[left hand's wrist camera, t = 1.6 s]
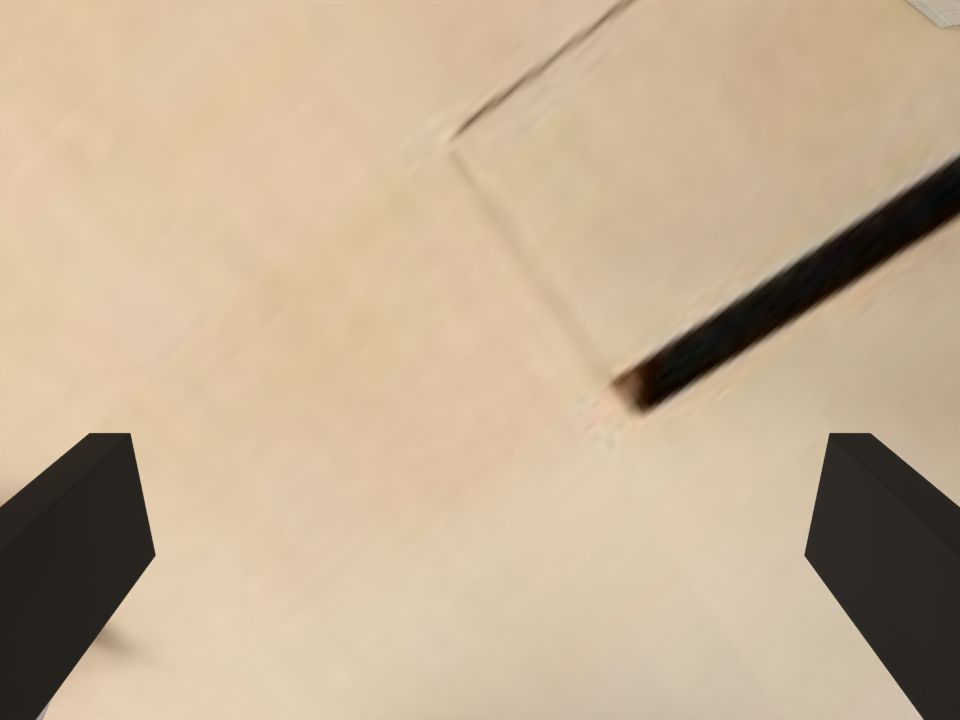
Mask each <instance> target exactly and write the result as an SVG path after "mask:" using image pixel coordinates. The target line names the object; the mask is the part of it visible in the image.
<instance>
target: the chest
mask: <svg viewBox="0 0 960 720" xmlns="http://www.w3.org/2000/svg"><path fill="white" fill-rule="evenodd" d="M907 1H908V2H909V3H911V4H912V5H913V6H914V7H915V8H917V9H918V10H919V11H920V12H921V13H923V14H924V15H925V16H926V17H927V18H928V19H930V20H931V21H932V22H933V23H934V24H936V25H937V26H938V27H939V28H944V27H950V26H953V25H960V0H907Z"/></svg>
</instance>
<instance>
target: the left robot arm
mask: <svg viewBox="0 0 960 720" xmlns="http://www.w3.org/2000/svg"><path fill="white" fill-rule="evenodd" d="M155 556H156V555H155V550H154V545H153V540H152V535H151V531H150V526H149V521H148V516H147V511H146V506H145V501H144V497H143V492H142V487H141V482H140V477H139V472H138V468H137V463H136V458H135V453H134V448H133V443H132V438H131V434H130V433H89V434H88V435H87V436H86V437H84V438H83V439H82V440H81V441H80V442H78V443H77V444H76V445H75V446H74V447H72V448H71V449H70V450H69V451H68V452H66V453H65V454H64V455H63V456H61V457H60V458H59V459H58V460H57V461H55V462H54V463H53V464H52V465H51V466H49V467H48V468H47V469H46V470H45V471H43V472H42V473H41V474H40V475H39V476H37V477H36V478H35V479H34V480H33V481H31V482H30V483H29V484H28V485H27V486H25V487H24V488H23V489H22V490H20V491H19V492H18V493H17V494H16V495H14V496H13V497H12V498H11V499H10V500H8V501H7V502H6V503H5V504H4V505H2V506H1V507H0V720H36V719H37V718H38V716H39V715H40V714H41V712H42V711H43V710H44V708H45V707H46V705H47V704H48V703H49V701H50V700H51V699H52V697H53V696H54V694H55V693H56V692H57V690H58V689H59V688H60V686H61V685H62V683H63V682H64V681H65V679H66V678H67V677H68V675H69V674H70V672H71V671H72V670H73V668H74V667H75V666H76V664H77V663H78V661H79V660H80V659H81V657H82V656H83V655H84V653H85V652H86V650H87V649H88V648H89V646H90V645H91V644H92V642H93V641H94V639H95V638H96V637H97V635H98V634H99V633H100V631H101V630H102V628H103V627H104V626H105V624H106V623H107V622H108V620H109V619H110V617H111V616H112V615H113V613H114V612H115V611H116V609H117V608H118V606H119V605H120V604H121V602H122V601H123V600H124V598H125V597H126V595H127V594H128V593H129V591H130V590H131V589H132V587H133V586H134V584H135V583H136V582H137V580H138V579H139V578H140V576H141V575H142V573H143V572H144V571H145V569H146V568H147V567H148V565H149V564H150V562H151V561H152V560H153V558H154V557H155ZM804 556H805V557H806V558H807V560H808V561H809V562H810V564H811V565H812V567H813V568H814V569H815V571H816V572H817V573H818V575H819V576H820V578H821V579H822V580H823V582H824V583H825V584H826V586H827V587H828V589H829V590H830V591H831V593H832V594H833V595H834V597H835V598H836V600H837V601H838V602H839V604H840V605H841V606H842V608H843V609H844V611H845V612H846V613H847V615H848V616H849V617H850V619H851V620H852V622H853V623H854V624H855V626H856V627H857V628H858V630H859V631H860V633H861V634H862V635H863V637H864V638H865V639H866V641H867V642H868V644H869V645H870V646H871V648H872V649H873V650H874V652H875V653H876V655H877V656H878V657H879V659H880V660H881V661H882V663H883V664H884V666H885V667H886V668H887V670H888V671H889V672H890V674H891V675H892V677H893V678H894V679H895V681H896V682H897V683H898V685H899V686H900V688H901V689H902V690H903V692H904V693H905V694H906V696H907V697H908V699H909V700H910V701H911V703H912V704H913V705H914V707H915V708H916V710H917V711H918V712H919V714H920V715H921V716H922V718H923V719H924V720H960V507H959V506H958V505H956V504H955V503H954V502H953V501H952V500H950V499H949V498H948V497H947V496H946V495H944V494H943V493H942V492H941V491H940V490H938V489H937V488H936V487H935V486H933V485H932V484H931V483H930V482H929V481H927V480H926V479H925V478H924V477H923V476H921V475H920V474H919V473H918V472H917V471H915V470H914V469H913V468H912V467H911V466H909V465H908V464H907V463H906V462H905V461H903V460H902V459H901V458H900V457H899V456H897V455H896V454H895V453H894V452H892V451H891V450H890V449H889V448H888V447H886V446H885V445H884V444H883V443H882V442H880V441H879V440H878V439H877V438H876V437H874V436H873V435H872V434H871V433H830V434H829V438H828V443H827V448H826V453H825V458H824V463H823V468H822V472H821V477H820V482H819V487H818V492H817V497H816V501H815V506H814V511H813V516H812V521H811V526H810V531H809V535H808V540H807V545H806V550H805V555H804Z"/></svg>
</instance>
